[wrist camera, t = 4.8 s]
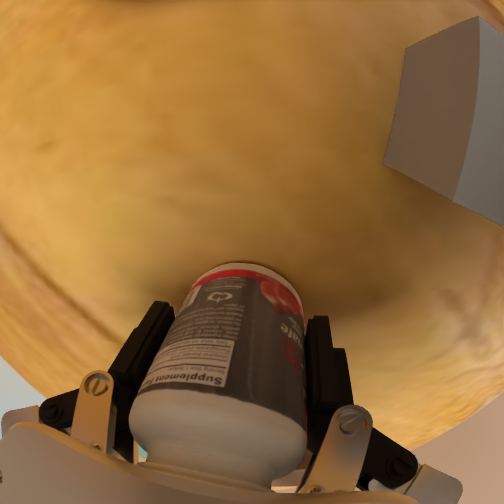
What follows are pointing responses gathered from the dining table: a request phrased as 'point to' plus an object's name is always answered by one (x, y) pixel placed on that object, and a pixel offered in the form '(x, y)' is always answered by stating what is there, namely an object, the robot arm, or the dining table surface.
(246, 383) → the pill bottle
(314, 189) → the dining table surface
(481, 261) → the dining table surface
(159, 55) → the dining table surface
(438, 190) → the slate-grey block
